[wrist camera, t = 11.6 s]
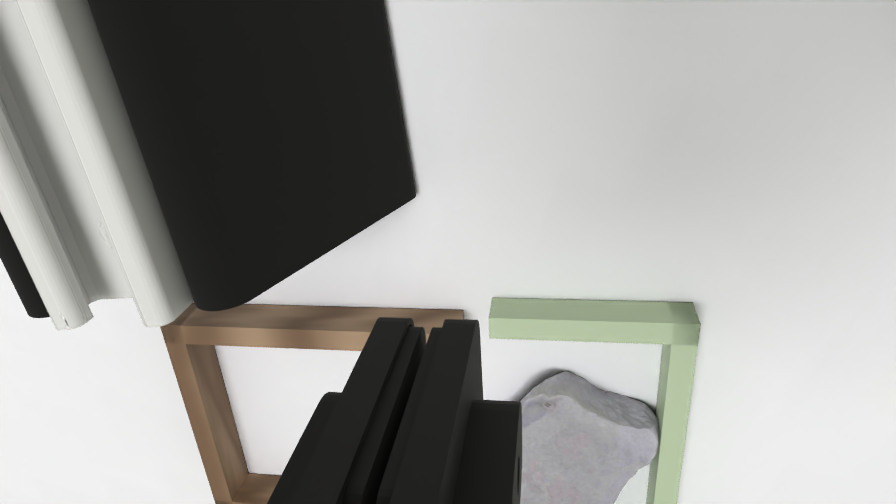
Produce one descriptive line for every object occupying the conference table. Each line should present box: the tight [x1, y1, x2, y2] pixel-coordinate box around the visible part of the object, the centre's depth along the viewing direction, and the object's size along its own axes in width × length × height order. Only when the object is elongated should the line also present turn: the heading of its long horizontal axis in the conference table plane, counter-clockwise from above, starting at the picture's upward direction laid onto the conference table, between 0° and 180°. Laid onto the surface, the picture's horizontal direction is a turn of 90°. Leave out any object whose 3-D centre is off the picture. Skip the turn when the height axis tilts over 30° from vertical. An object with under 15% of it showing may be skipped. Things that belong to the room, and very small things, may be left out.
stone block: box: [520, 371, 659, 504], centre depth 44 cm, size 12×5×10 cm
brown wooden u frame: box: [160, 303, 464, 504], centre depth 46 cm, size 20×18×3 cm
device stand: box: [0, 0, 416, 330], centre depth 30 cm, size 22×22×15 cm
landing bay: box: [489, 298, 700, 504], centre depth 43 cm, size 12×20×2 cm, turn 4°
